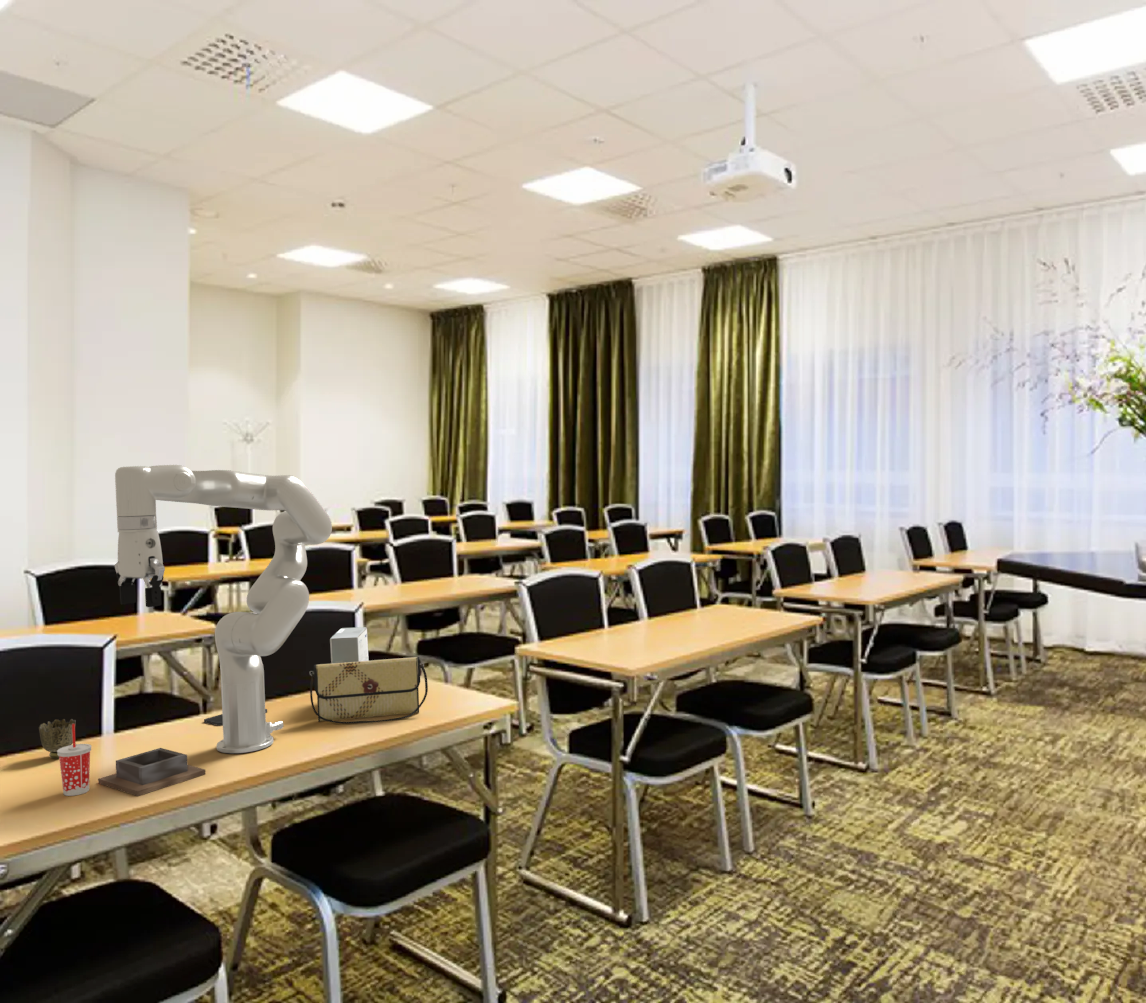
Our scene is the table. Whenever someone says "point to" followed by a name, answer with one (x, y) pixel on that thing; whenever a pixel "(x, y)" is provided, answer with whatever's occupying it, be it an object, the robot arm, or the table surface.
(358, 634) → the hard drive box
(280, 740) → the table surface
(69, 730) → the cup
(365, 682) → the clutch purse
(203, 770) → the socket board
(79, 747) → the beverage cup
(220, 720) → the phone
